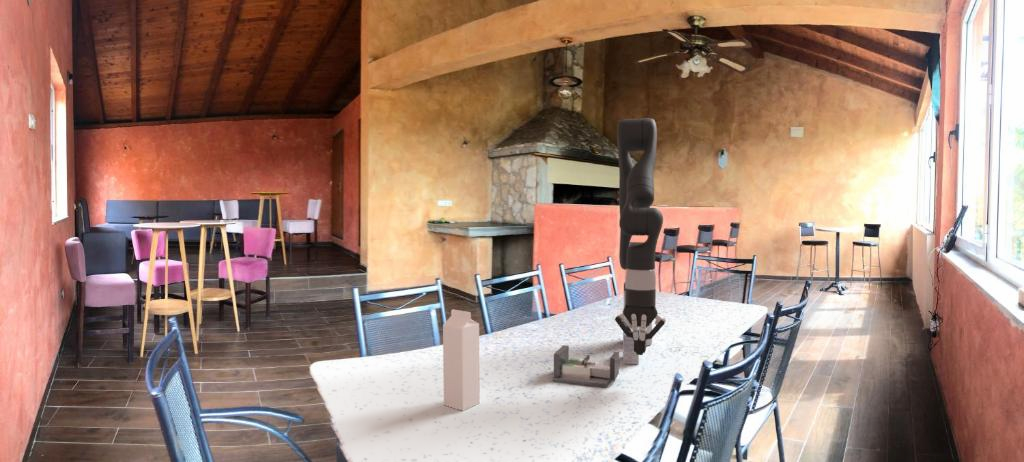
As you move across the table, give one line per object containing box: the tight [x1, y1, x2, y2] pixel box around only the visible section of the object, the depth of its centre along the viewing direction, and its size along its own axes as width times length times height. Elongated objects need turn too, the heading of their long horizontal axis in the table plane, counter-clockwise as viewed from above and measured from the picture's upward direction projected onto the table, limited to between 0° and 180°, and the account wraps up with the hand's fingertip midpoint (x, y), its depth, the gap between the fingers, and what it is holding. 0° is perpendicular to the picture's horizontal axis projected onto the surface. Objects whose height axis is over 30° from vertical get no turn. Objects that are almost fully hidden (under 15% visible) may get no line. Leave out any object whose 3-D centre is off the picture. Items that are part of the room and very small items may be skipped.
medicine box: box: [622, 329, 640, 365], centre depth 158 cm, size 8×4×9 cm, turn 168°
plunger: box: [582, 351, 620, 381], centre depth 141 cm, size 6×9×6 cm, turn 68°
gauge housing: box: [552, 344, 612, 389], centre depth 142 cm, size 11×14×7 cm
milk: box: [442, 309, 481, 412], centre depth 124 cm, size 6×6×22 cm
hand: (639, 354), depth 137 cm, fingers closed
